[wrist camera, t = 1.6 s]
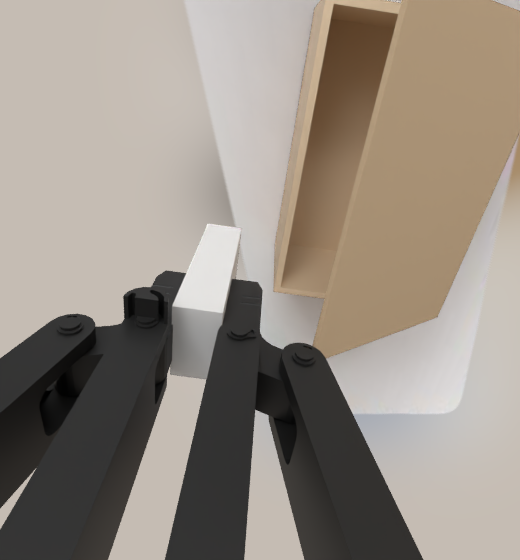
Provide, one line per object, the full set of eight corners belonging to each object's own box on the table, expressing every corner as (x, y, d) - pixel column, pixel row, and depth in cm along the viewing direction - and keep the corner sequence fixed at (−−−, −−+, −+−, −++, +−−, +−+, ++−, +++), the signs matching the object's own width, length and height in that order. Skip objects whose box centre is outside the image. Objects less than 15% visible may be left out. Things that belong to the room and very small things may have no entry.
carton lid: (409, -28, 18) (416, -29, 18) (559, 28, 26) (565, 28, 26) (308, 360, 30) (311, 363, 30) (433, 314, 38) (437, 317, 38)
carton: (314, 8, 36) (326, -9, 26) (484, 35, 36) (557, 28, 27) (274, 244, 48) (273, 291, 38) (402, 262, 48) (433, 313, 39)
